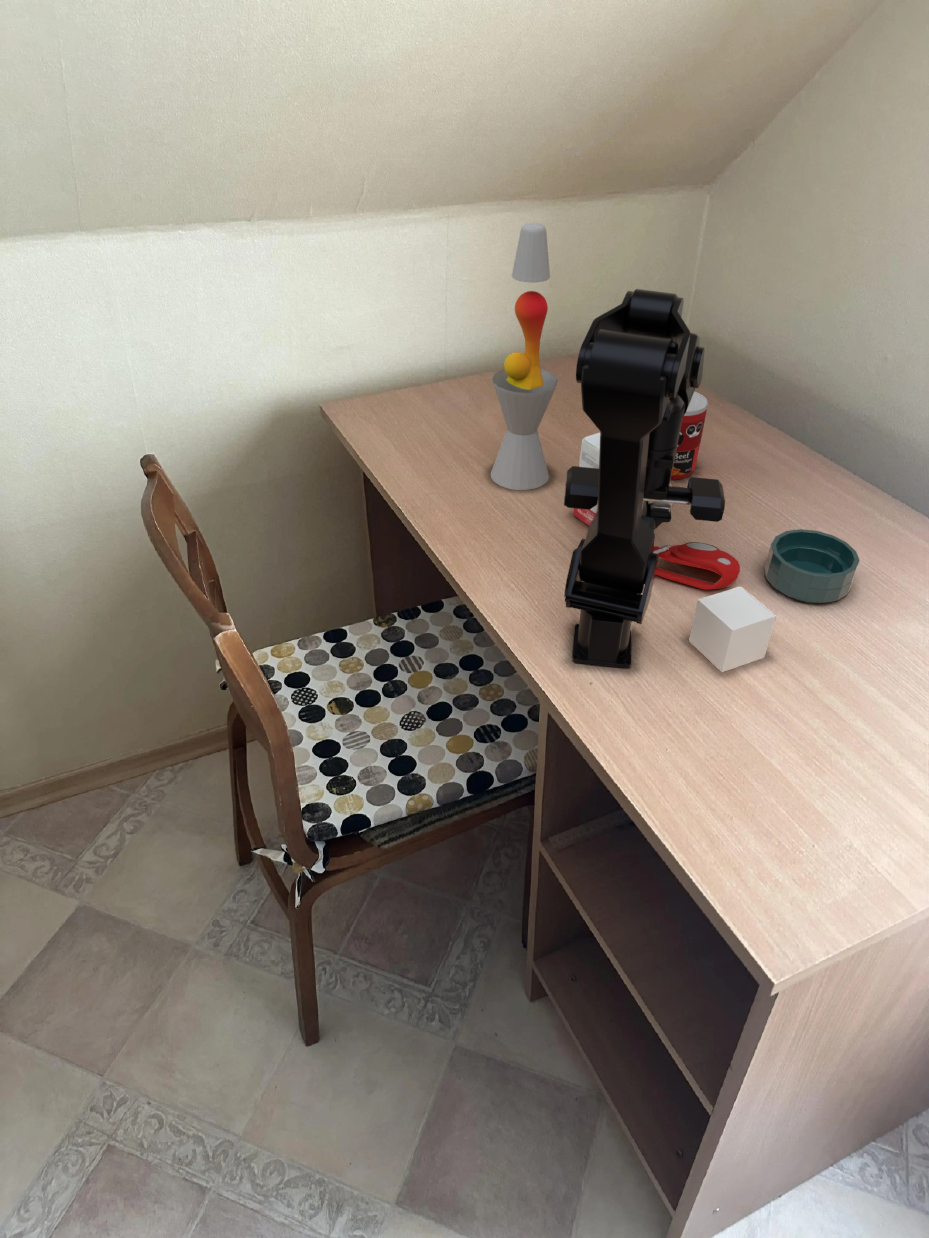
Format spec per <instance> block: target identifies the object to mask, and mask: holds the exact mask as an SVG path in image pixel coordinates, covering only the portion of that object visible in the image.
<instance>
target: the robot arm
mask: <svg viewBox="0 0 929 1238" xmlns="http://www.w3.org/2000/svg"><path fill="white" fill-rule="evenodd" d="M684 300H685V299H684V298H683V297H680V296H679V297H678V295H677V294H676V293H671V292H664V291H656V290H648V289H641V288H636V289H634V290H633V291H632V290H627V291H626V293H625V295H624V297H623V300H622V302H621V303H620V304H619V305H617V306H615V307H613V308H611V309H609V310H607V311H606V312H603V313H602V314H600V315H599V316H597V317H596V318H594V319H593V320H592V322H591V324H590V326H589V329H588V331H587V332H586V335H585V337H584V339H583V341H582V344H581V346H580V348H579V352H578V355H577V361H576V368H575V381H576V383H578V384H580V391H581V409H582V411H583V412H584V414H585V415H586V416H587V417H588V418H589V420H590V421H591V422H592V423H593V424H594V426H595V427H596V428H597V429H598V431H599V433H600V454H599V468H588V467H579V466H576V465H572V466H571V467H570V468H569V469H568V470H567V471H566V480H565V489H564V499H563V506H565V507H567V508H569V509H574V508H577V509H588V510H590V509H592V508H593V507H594V506H596V505H597V502H598V510H597V512H596V516H595V519H593V520H592V521H591V524H590V527H589V526H588V529H587V533H586V536H585V538H581V539H580V542H579V543H578V546H577V547H576V548H574V549H573V551H572V553H571V558H570V562H569V568H568V571H567V575H566V581H565V587H564V595H563V596H564V602H565V608H567V609H576V610H580V613H579V621H578V623H575V624H574V629H573V641H572V642H573V643H572V654H571V655H572V656H571V661H572V662H573V663H576V664H586V665H595V666H603V667H605V666H606V667H613V668H623V669H629V668H631V667H632V623H636V624H638V625H642V624H643V620H644V618H645V615H646V612H647V611H648V607H649V603H650V600H651V596H652V591H653V587H654V581H655V577H656V574H655V573H656V568H657V567H658V562H659V558H660V557H659V554H656V553H653V552H654V546H655V541H656V539H655V538H656V533H655V530H656V529H657V528H658V527H660V525H662V524H663V523H667V524H668V523H670V522H671V521H672V508H673V507H674V505H675V504H676V505H686V506H690V508H689V514H690V516H691V517H692V518H693V519H694V520H695V521H703V522H713V523H714V522H715V523H718V522H721V521H722V520H723V516H724V513H725V510H726V509H725V508H726V498H725V493H724V488H723V484H722V483H721V481H720V479H716V478H705V477H697V476H690V477H689V478H688V480H687V484H686V487H684V486H683V487H682V486H673V484H672V483H671V475H672V470H673V465H674V460H675V455H676V450H677V445H678V439H679V434H680V429H681V424H682V419H683V416H684V414H685V413H686V411H687V408H688V406H689V403H690V401H691V398H692V396H693V393H694V392H696V391H695V390H696V389H699V388H700V386H701V383H702V379H703V370H704V361H705V349H706V347H703V346H701V337H700V336H699V335H698V334H697V333H693V332H691V330H690V328H689V327H688V325H687V324H686V323H685V321H684V319H683V318H682V316H683V309H684V304H685V303H684V302H685V301H684Z"/></svg>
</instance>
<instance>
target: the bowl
mask: <svg viewBox="0 0 929 1238" xmlns="http://www.w3.org/2000/svg"><path fill="white" fill-rule="evenodd" d="M859 564H860V557H859V555H858V552H857V550H856V549H855V548H853V547H852V546H851V544H849V543H848V542H847V541H846V540H843V539H841V538H839V537H837V536H835V535H833V534H830V533H828V532H827V533H826V532H823V531H819V530H815V529H802V528H801V529H799V528H797V529H792V530H785V531H783V532H781V533H779V534H777V535H775V536H774V538H773V540H772V542H770V546H769V549H768V554H767V557H766V561H765V565H764V574H765V580H767V582H768V583H769V584H770V585H771V586H772V587H773V588H774V589H776V590H777V591H779V592H780V593H781V594H783V595H785V596H786V597H788V598H790V599H793V600H796V601H800V602H804V603H810V604H825V603H831V602H837V601H839V600H841V599H842V598H844V597H846V596H847V595H848V594H849V592H850V589H851V587H852V585H853V581H854V578H855V576H856V572H857V569H858V567H859Z"/></svg>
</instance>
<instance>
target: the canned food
mask: <svg viewBox="0 0 929 1238" xmlns="http://www.w3.org/2000/svg"><path fill="white" fill-rule="evenodd" d="M708 404H709V401H708V399H707V397H705V396H704V395H703V394H701V393H699V392H697V391H694V393H693V396H692V398H691V401H690V403H689V406H688V408H687V411H686V413H685V414H684V416H683V419H682V424H681V429H680V434H679V439H678V445H677V450H676V455H675V460H674V465H673V470H672V475H671V480H672V481H675V480H682V479H685V478H688V477H689V476H691V475H692V474H693V472H694V471H695V469H696V466H697V462H698V457H699V452H700V447H701V443H702V437H703V431H704V427H705V423H706V422H705V421H706V417H707V416H706V415H707V410H708ZM671 480H670V481H671Z"/></svg>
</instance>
